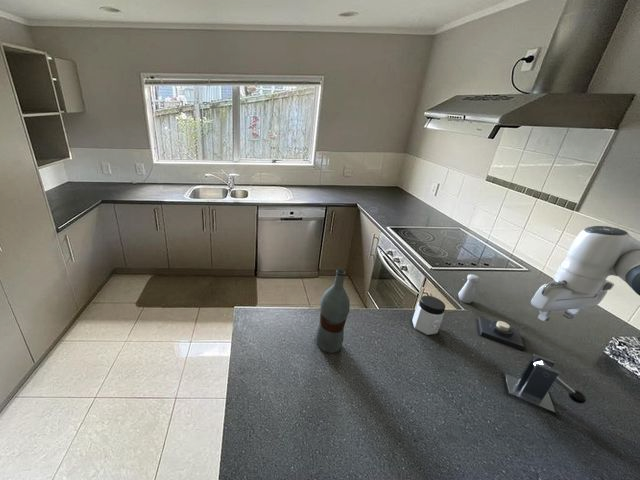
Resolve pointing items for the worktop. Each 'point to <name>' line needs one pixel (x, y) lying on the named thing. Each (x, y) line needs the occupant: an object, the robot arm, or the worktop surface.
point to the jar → (428, 315)
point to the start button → (502, 326)
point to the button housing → (500, 334)
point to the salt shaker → (469, 289)
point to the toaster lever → (567, 387)
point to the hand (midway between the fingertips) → (555, 318)
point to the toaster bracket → (534, 383)
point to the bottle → (333, 315)
